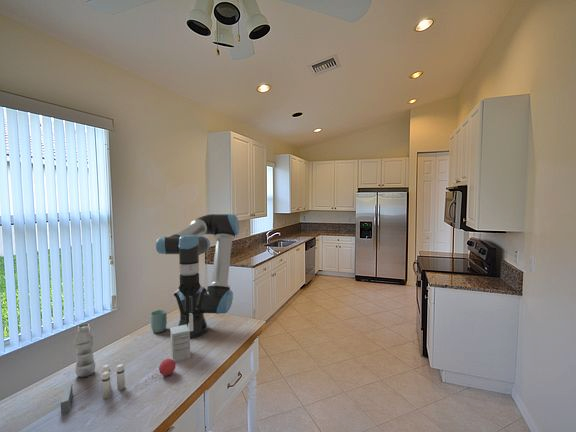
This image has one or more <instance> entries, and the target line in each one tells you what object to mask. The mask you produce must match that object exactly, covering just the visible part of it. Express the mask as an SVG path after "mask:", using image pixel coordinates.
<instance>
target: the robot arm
mask: <svg viewBox="0 0 576 432" xmlns="http://www.w3.org/2000/svg"><path fill="white" fill-rule="evenodd" d="M239 233H240V223H239V218H238V216H237V215H235V214H229V213H227V214H226V213H224V214H223V213H221V214H220V213H219V214H217V213H216V214H213V213H212V214H206V215H202V216H199V217H198V218H196V219H194V220H192V221H191V223H190V224H189V225H188V226H186V227H184V228H182V229H180V230H178V231H176V232H175V233H173V234H172V235H170V236H160V237H159V238H157V239H156V243H155V249H156V252H157V253H158V254H161V255H178V258H179V261H178V263H179V267H178V268H179V271H178V272H179V286H178V289H177V290H176V291H173V293H172V294H173V296H174V297H175V299H176V302H177V305H178V310H179V322H178V324H177V326H181V325H187V326H188V330H189V331H190V339H194V338H198V337H200V336H203V335H205V334H206V332H207V331H208V324H207V321H206V318H205V315H204V314H216V315H217V314H218V315H220V314H227V313H228V312H229V311H230V309H231V307H232V304H233V300H234V299H233V298H234V296H233V295H234V293H233V291H232V290H231V287H230V285H229V284H228V281H229V273H230V263H231V253H232V247H233V246H232V245H233V244H232V243H233V241H234V240H235V239H236V236H238V235H239ZM205 235H213V237H214V238H215V240H216V241H215V249H214V257H213V266H212V271H211V272H212V273H211V274H212V275H211V281H210V283H209V284H208V285H207V288H205V286H201V283H200V273H199V272H200V266H199V265H200V261H199V259H200V257H199V256H200V255H202V254H205V253H206V252H208V251H209V249H210V247H211V242H210V241H211V240H209V238H207V237H206V236H205Z"/></svg>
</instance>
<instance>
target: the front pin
mask: <svg viewBox="0 0 576 432" xmlns="http://www.w3.org/2000/svg"><path fill="white" fill-rule="evenodd" d="M125 379H126V377H125V365H124V364H123V363H120V364H117V365H116V383H117V384H116V385H117V389H116V390H118V391H123V390H125V388H126V384H125V383H126V380H125Z"/></svg>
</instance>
